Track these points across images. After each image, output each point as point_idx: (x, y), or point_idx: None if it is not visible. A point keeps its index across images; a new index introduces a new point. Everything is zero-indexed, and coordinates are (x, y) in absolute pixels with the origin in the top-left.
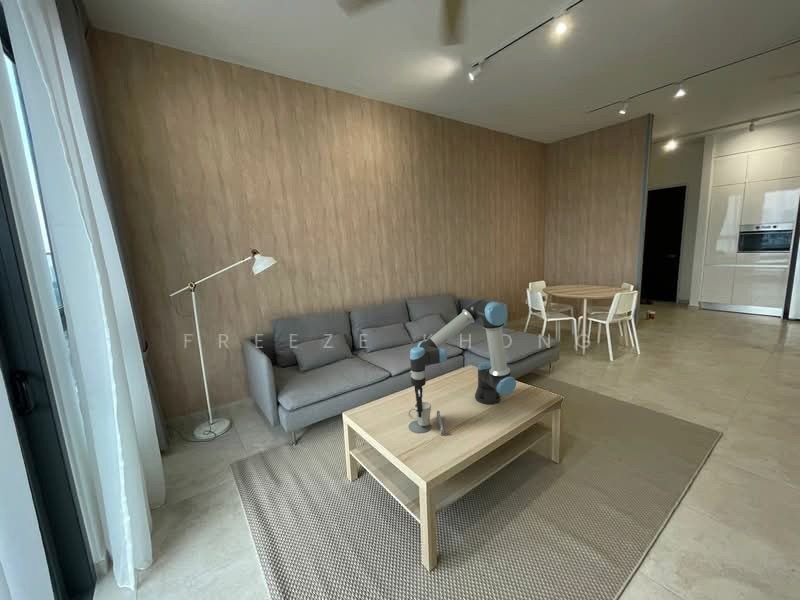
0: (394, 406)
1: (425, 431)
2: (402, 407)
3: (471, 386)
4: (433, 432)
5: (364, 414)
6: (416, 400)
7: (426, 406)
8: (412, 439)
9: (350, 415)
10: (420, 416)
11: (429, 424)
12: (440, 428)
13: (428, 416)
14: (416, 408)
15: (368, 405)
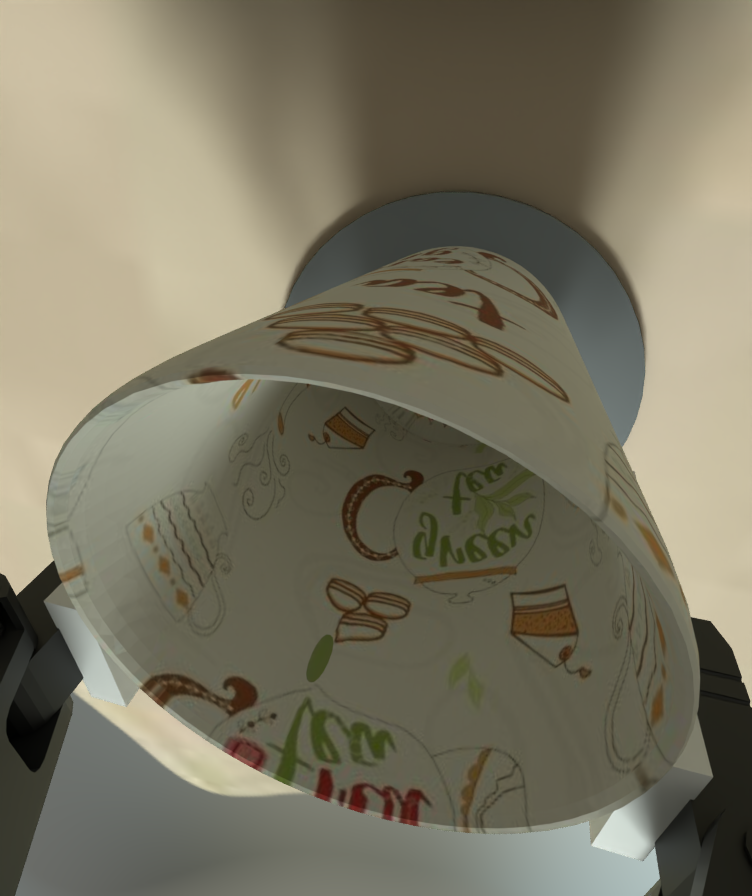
0: (28, 545)
1: (634, 334)
2: (21, 483)
3: None
4: (701, 173)
5: (201, 737)
6: (64, 729)
7: (190, 405)
8: (745, 541)
9: (223, 789)
10: (720, 667)
11: (424, 217)
12: None
13: (578, 357)
14: (464, 799)
15: (74, 690)
